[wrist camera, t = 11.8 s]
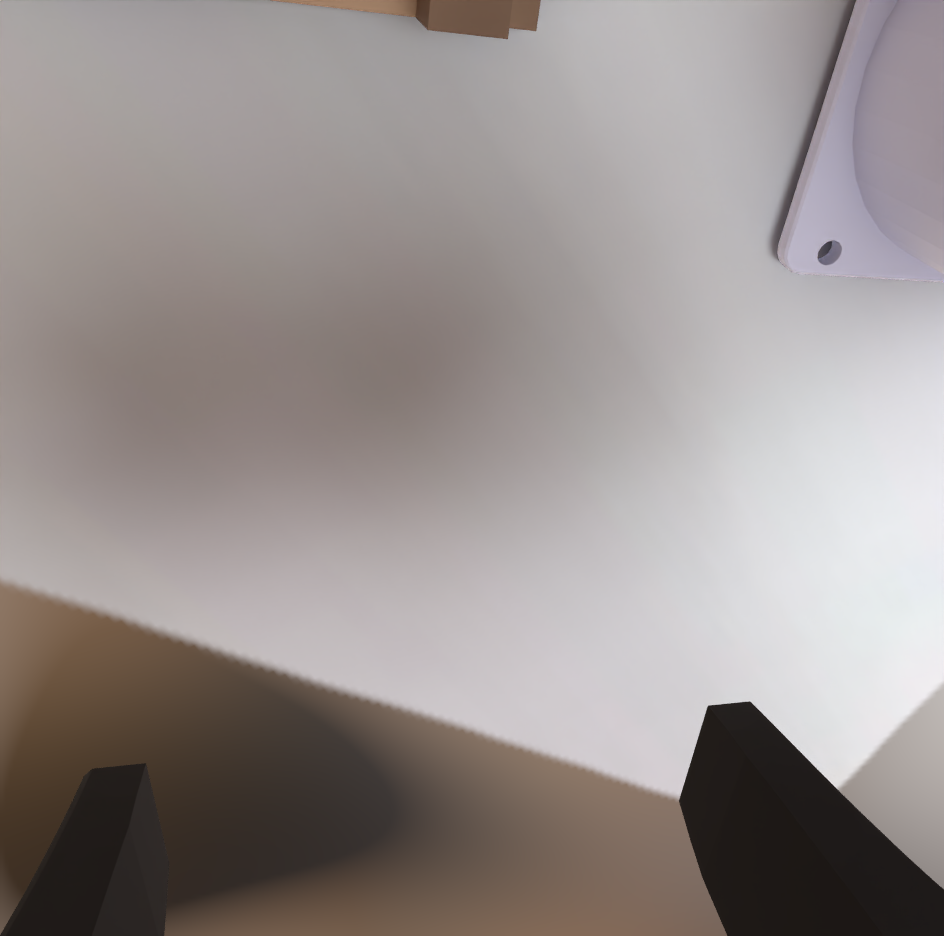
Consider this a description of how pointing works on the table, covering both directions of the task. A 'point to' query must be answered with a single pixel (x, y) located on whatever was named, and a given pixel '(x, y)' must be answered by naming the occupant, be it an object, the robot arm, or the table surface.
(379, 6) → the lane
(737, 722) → the robot arm
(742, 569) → the table surface
